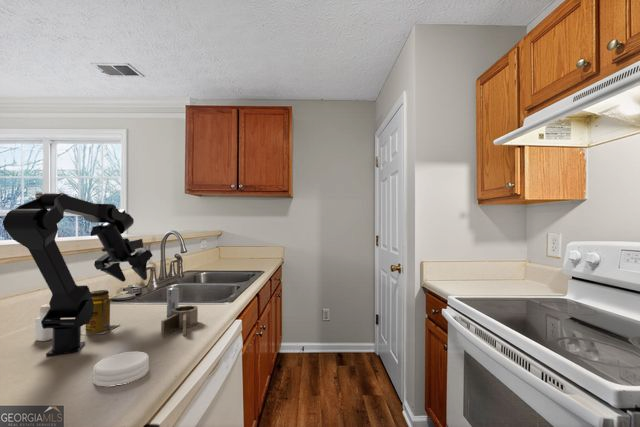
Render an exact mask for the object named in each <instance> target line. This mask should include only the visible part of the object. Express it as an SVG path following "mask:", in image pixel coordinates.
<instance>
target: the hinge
mask: <svg viewBox="0 0 640 427" xmlns="http://www.w3.org/2000/svg"><path fill="white" fill-rule="evenodd" d="M198 310H199V308H198V305H189V304H188V305H181V306H179V305H178V307H176V308H173V309H172V316H171V317H169V318H167V317H166V318H165V319H163V320H161V322H160V324H161V325H160V330H161V331H160V332H161V333H160V337H161V338H165V337H166V336H168V335H170V334H172V333H173V332H175V331H177V330H178V329H182V336H183V337H184V336H185V337H186V336H187V328H192V327H194V326H197V325H198V323H199V322H198V317H199V316H198V312H199V311H198Z"/></svg>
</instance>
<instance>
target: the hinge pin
mask: <svg viewBox="0 0 640 427" xmlns="http://www.w3.org/2000/svg"><path fill="white" fill-rule="evenodd" d="M176 307H179V287H169V288H166V319H167V318H169V317H171V316H172V309H173V308H176Z"/></svg>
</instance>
